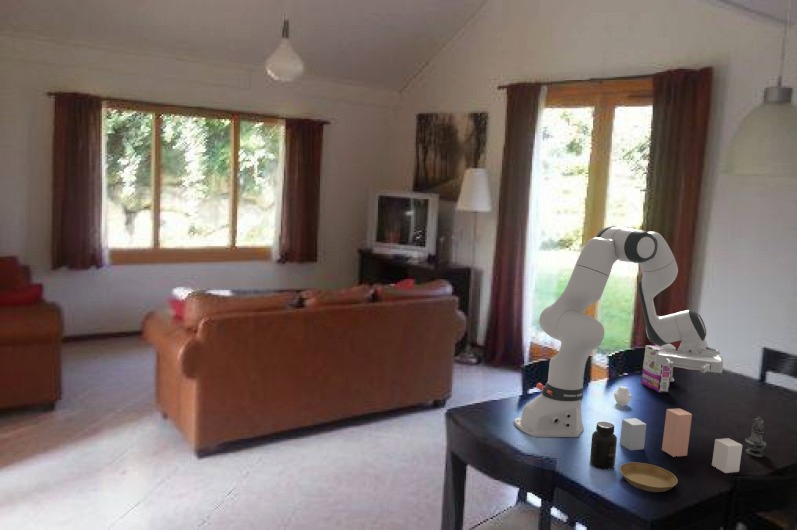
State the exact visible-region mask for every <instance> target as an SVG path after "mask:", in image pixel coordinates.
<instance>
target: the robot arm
mask: <svg viewBox="0 0 797 530" xmlns="http://www.w3.org/2000/svg"><path fill="white" fill-rule="evenodd" d="M617 261H619V262H627V263H634V264H638V265H639V267H640V270H641V274H642V277H641V279H640V280H639V281H638V286H637V288H638V294H639V295H638V296H639V301H640V306H641V309H642V314H643V319H644V323H645V332H646V336H647V338H648V340H649V342H650V343H651V344H652V345H655V346H656V345H658V346H663V345H666V344H671V343H676V342H680V344H679V346H678V348H677V350H676V349H675V350H668V349H661V350H659V351H658V352H657V353H656V354H655V363H656V364H659V365H666V366H668V368H673V369H674V367H675V368H682V369H686V370H690V371H691V370H693V371H694V370H696V371H699V373H701V374H702V373H703V374H705V373H707V372H710V373H717V374H722V373H723V370H724V369H723V368H724V359H723V356H722V355H721V352H720V350H719V349H716V348H713V347H708V342H707V340H706V337H707V329H706V325H705V321H704V320H703V318H702V316H701V315H700V314H698V313H697V312H696V311H694V310H692V309H690V308H689V309H686V310H682V311H681V310H680V311H678V312H675V313H669V314H666V315H661V316H660V315H657V312H656V306H655V302H654V298H655V297H657V295H659V294H660V293H661V292H662V291H664V290H666V289H667V288H668V287H670V286H671V285H672V284H673V283H674V281H675V280H676V279H677V277H678V273H679V267H678V263H677V261H676V258H675V255H674V253H673V252H672V250H671V248H670V246H669V244H668V243H667V241H666V240H665V239H664V237H663V235H661V233H659V232H657V231H646V230H643V229H636V228H632V227H629V226H616V225H615V226H614V225H612V226H611V225H610V226H608V227H607V226H606V227H604V228H603V229H601V230H600V231H599V232H598V233H597V234H596V237H592V238H590V239H588V241H587V242H586V244H585V245H584V247H583V248H582V250H581V252H580V254H579V256H578V258H577V260H576V262H575V265H574V268H573V270H572V273H571V275H570V277H569V280H568V282H567V285H566V286H565V288H564V290H563V292H562V293H561V294H560V295H559V297H558V298H557V299H556V300H555V302H553V303H552V304H551V305H548V306H547V307H546V308H544V309H543V310H542V312H541V313H540V316H539V319H538V320H539V321H538V323H539V327H540V328H541V329H540V330H542V331H543V332H544V333H545V334H546V335H548V336H549V338H553V339H555V340H557V341H559V342H560V348H559V350H558V352H557V354H555V355H553V356H552V357H551V358H550V360H549V364H548V365H549V366H548V374H547V375H548V377H547V382H546V383H545V385H544V384H542V383H541V382H537V384H536V388H537V390H540V391H541V393H540V394H539V395H538V396H536V397H534V398H533V399H532V400H531V401H529V402H528V403H527V404H525V405H524V407H523V408H522V413H521V417H515V418H514V421H513V423H514V425H515V427H517V428H518V429H519V430H520V431H522V432H524V433H525V434H527V435H529V436H532V437H535V438H579V437H580V434H581V433H582V432H583V431H584V429H585V428H584V424H583V417H582V416H583V415H582V401H583V398H584V377H585V370H586V369H585V368H586V365H587V361H588V360H589V359H588V358H589V356H590V354H591V353H592V352H593V351H594V350H595V349H597V348H598V347H599V346H601V345H602V342H603V341H604V338H605V328H604V326H603V324H602V322H600V321H599V320H597V319H595V318H594V317H593V316H592V315H589V314H585V312H586V310H587V309H588V308H589V307H590V306H591V305H592V304H594V303H597V302H598V301H599V300H601V298H602V296H603V294H604V290H605V287H606V285H607V283H608V281H609V277H610V275H611V272H612V269H613V266H614V264H615V263H616V262H617Z"/></svg>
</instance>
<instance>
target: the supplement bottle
mask: <svg viewBox="0 0 797 530" xmlns="http://www.w3.org/2000/svg"><path fill="white" fill-rule="evenodd" d="M595 427H596V428H595V431H594V432H593V433H592V435H591V445H590V456H589V457H590V458H589V462H590V464H591V465H592V466H593V467H595V468H597V469H599V470H600V469H601V470H610V469H613V468H614V467H615V466H616V465H615V464H616V456H617V455H616V454H617V443H618V438H617V436H616V435H617V434H615V425H614V424H613V423H610V422H608V421H599V422H597V423H596V426H595Z"/></svg>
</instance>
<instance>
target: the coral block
mask: <svg viewBox="0 0 797 530" xmlns="http://www.w3.org/2000/svg"><path fill="white" fill-rule="evenodd" d="M692 418H693V414H692V413H690V412H689V411H686V410H684V409H683V408H678V407H677V408H667V409H666V412H665V418H664V419H665V420H664V430H663V437H662V443H661V444H662V447H661V450H662V452H665V453H667V454H668V455H670V456H672V457H673V458H674V457H676V456H677V457H685V456H688V450H689V449H688V448H689V442H690V435H691V434H690V433H691V427H692V426H691V425H692Z"/></svg>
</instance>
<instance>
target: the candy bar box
mask: <svg viewBox="0 0 797 530" xmlns="http://www.w3.org/2000/svg"><path fill="white" fill-rule="evenodd" d="M661 349H663V348H660V347H657V346H656V345H655V344H652V345H645V348H644V354H643V355H644V356H643V363H642V374H641V379H640V380H641V381H640V383H641V385H643V386H645V387H647V388H649V389H651V390H652V391H655V392H657V393H669V389H670V374H671V368H668V366H666V365H659V364H656V363H655V354H656V353H657V352H658V351H659V350H661Z"/></svg>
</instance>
